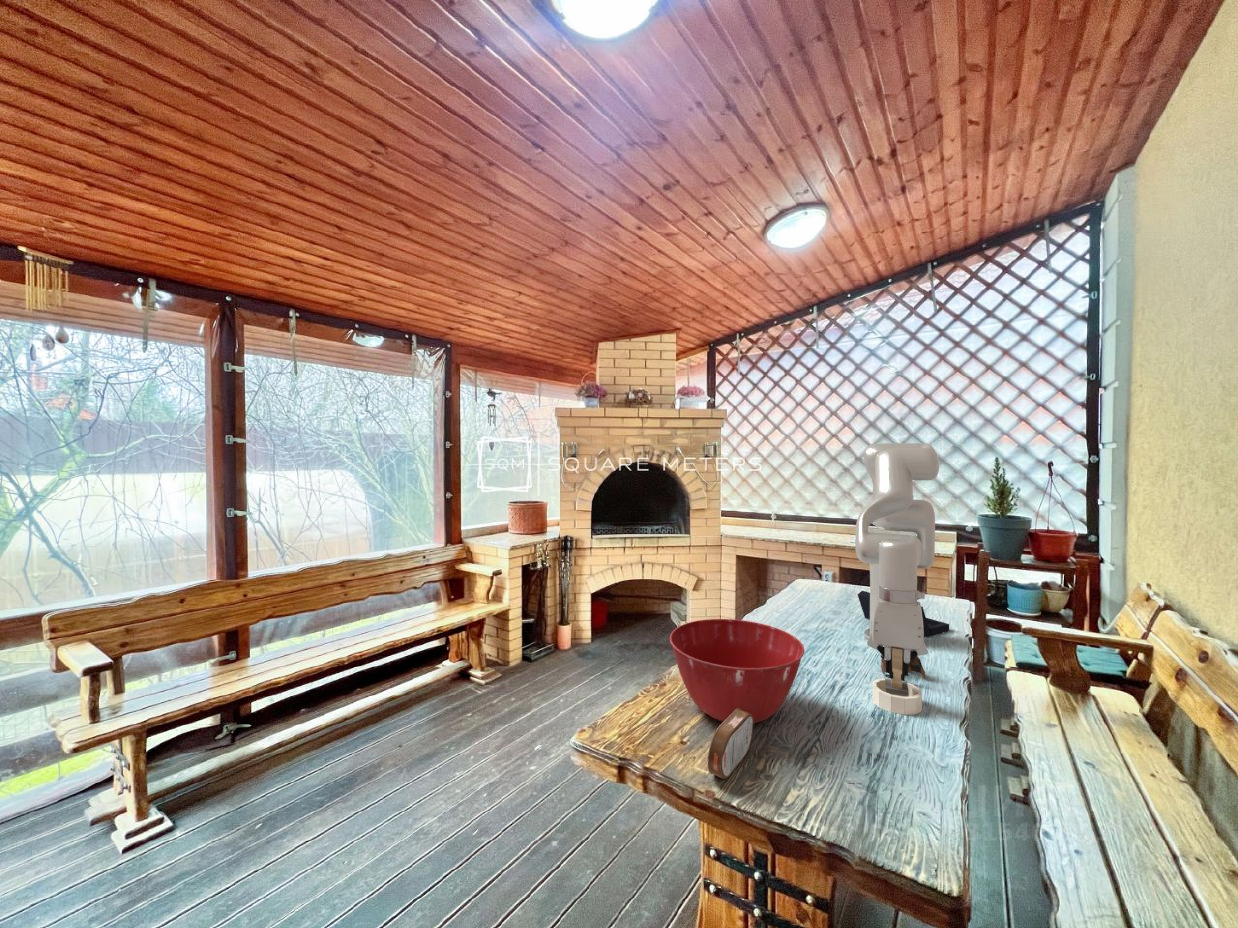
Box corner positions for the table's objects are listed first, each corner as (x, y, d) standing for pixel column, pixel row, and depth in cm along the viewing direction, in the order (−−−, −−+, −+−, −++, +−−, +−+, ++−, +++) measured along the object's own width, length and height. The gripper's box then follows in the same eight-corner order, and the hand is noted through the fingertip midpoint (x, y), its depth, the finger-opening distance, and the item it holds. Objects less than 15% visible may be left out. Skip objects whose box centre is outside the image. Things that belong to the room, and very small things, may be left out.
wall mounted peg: (885, 683, 117) (885, 640, 116) (907, 687, 115) (907, 643, 114) (885, 692, 113) (886, 648, 112) (908, 696, 111) (909, 651, 110)
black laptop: (949, 631, 160) (949, 600, 160) (917, 640, 153) (918, 607, 153) (887, 613, 179) (888, 585, 179) (857, 620, 171) (857, 591, 171)
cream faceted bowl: (871, 690, 120) (872, 675, 120) (919, 698, 116) (919, 683, 116) (872, 708, 111) (872, 692, 111) (923, 718, 107) (923, 701, 107)
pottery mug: (935, 686, 122) (921, 658, 121) (896, 698, 125) (882, 671, 123) (914, 656, 134) (902, 630, 133) (879, 668, 136) (866, 643, 135)
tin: (740, 742, 98) (740, 699, 98) (756, 748, 97) (756, 704, 96) (705, 783, 86) (705, 734, 86) (722, 790, 84) (723, 740, 84)
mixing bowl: (827, 709, 111) (827, 639, 111) (758, 765, 91) (759, 680, 91) (718, 670, 131) (718, 610, 131) (643, 708, 111) (643, 638, 111)
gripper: (936, 595, 113) (935, 677, 113) (858, 587, 120) (857, 664, 120) (941, 603, 106) (940, 691, 107) (858, 595, 113) (857, 677, 113)
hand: (896, 676), depth 113 cm, fingers closed on wall mounted peg
